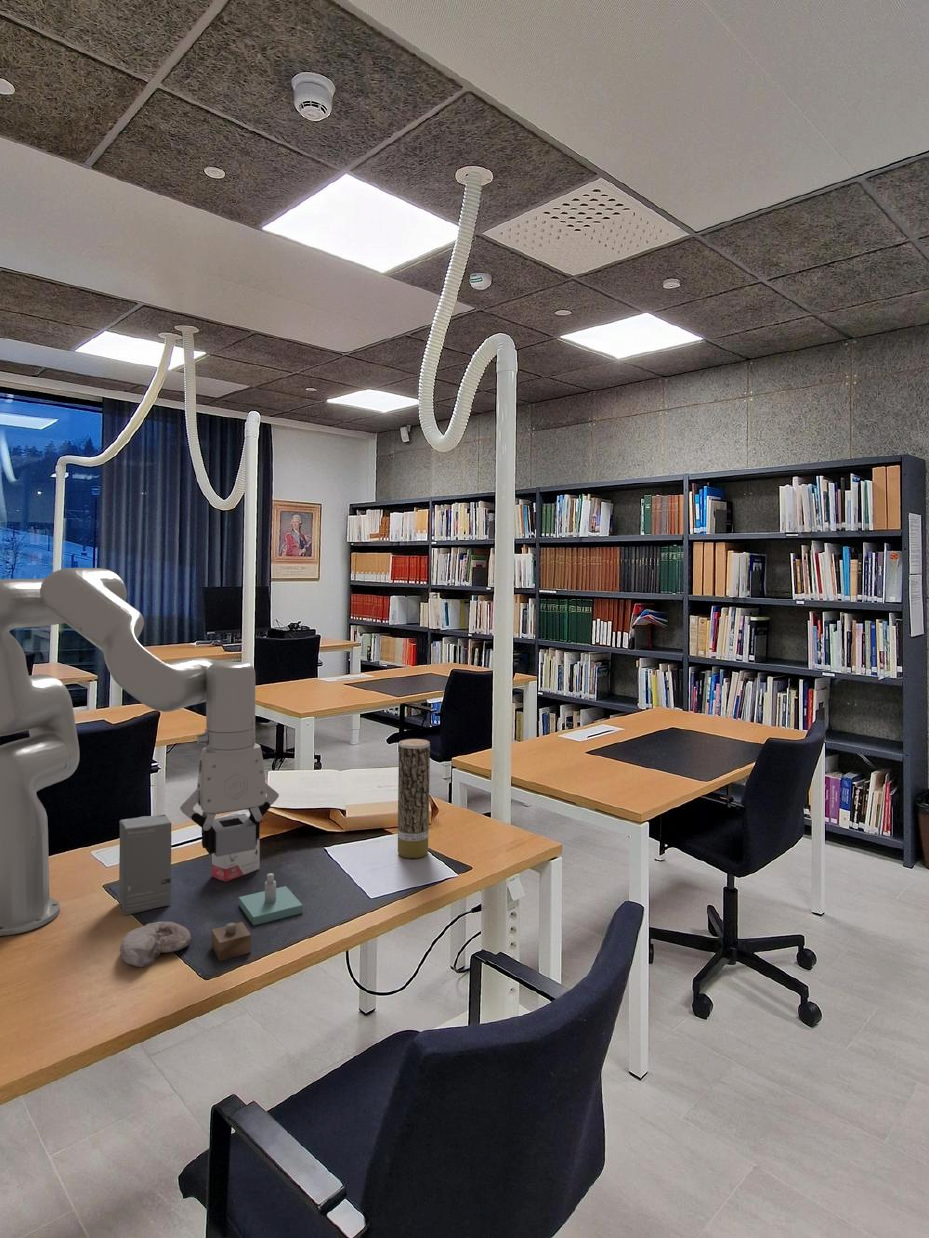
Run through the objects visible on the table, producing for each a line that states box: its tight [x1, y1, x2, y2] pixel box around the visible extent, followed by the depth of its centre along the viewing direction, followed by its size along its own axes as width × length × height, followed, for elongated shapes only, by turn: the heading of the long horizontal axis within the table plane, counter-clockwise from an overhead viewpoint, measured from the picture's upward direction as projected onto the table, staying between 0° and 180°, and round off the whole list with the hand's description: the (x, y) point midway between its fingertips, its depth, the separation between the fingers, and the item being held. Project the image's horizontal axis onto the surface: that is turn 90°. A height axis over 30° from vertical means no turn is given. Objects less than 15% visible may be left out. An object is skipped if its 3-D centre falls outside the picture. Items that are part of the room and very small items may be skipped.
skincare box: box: [118, 814, 172, 916], centre depth 134 cm, size 8×7×16 cm
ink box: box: [211, 809, 261, 883], centre depth 148 cm, size 9×5×12 cm, turn 143°
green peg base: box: [238, 872, 304, 926], centre depth 133 cm, size 9×9×6 cm
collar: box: [212, 814, 256, 857], centre depth 117 cm, size 6×6×4 cm
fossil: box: [119, 921, 192, 968], centre depth 117 cm, size 12×4×10 cm
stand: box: [211, 921, 252, 962], centre depth 118 cm, size 5×5×4 cm
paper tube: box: [397, 738, 431, 859], centre depth 159 cm, size 7×7×25 cm
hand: (231, 846), depth 118 cm, fingers closed on collar, 6 cm apart
